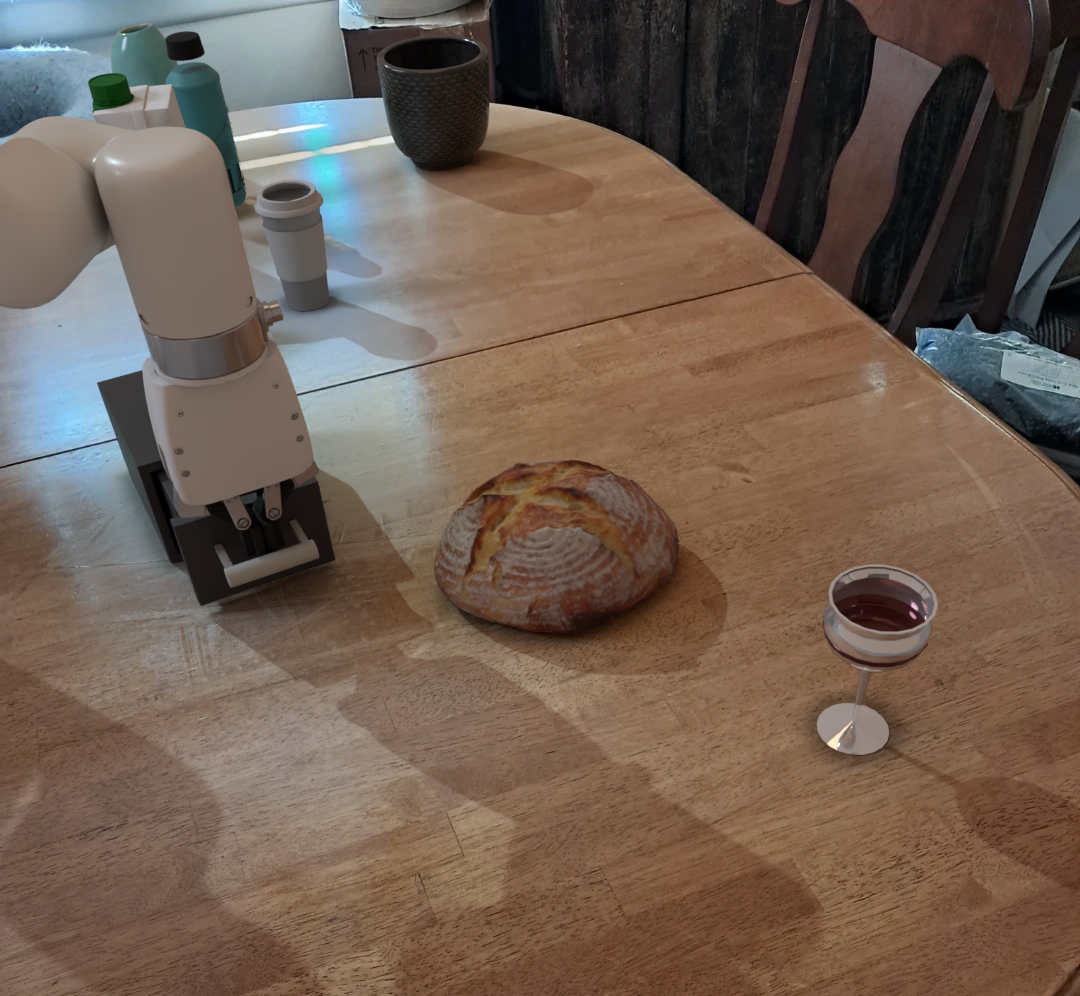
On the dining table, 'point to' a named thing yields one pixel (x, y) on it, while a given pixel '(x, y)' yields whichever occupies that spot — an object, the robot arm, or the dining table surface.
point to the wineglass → (872, 644)
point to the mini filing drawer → (220, 553)
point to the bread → (555, 547)
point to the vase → (141, 55)
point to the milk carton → (133, 104)
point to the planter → (436, 98)
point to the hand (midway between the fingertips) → (266, 556)
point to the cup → (296, 241)
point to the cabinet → (139, 448)
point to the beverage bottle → (204, 103)
